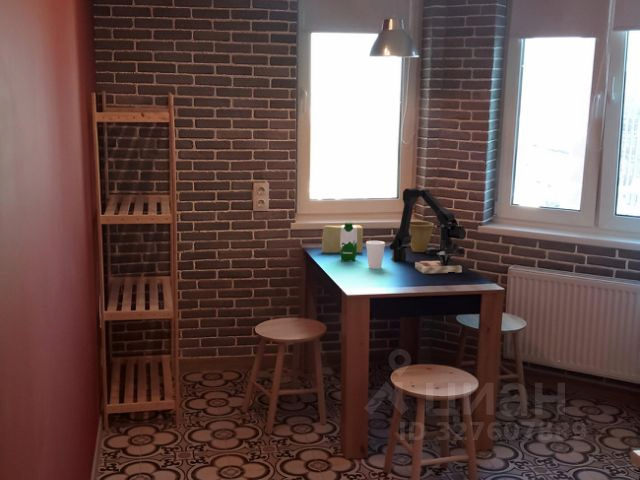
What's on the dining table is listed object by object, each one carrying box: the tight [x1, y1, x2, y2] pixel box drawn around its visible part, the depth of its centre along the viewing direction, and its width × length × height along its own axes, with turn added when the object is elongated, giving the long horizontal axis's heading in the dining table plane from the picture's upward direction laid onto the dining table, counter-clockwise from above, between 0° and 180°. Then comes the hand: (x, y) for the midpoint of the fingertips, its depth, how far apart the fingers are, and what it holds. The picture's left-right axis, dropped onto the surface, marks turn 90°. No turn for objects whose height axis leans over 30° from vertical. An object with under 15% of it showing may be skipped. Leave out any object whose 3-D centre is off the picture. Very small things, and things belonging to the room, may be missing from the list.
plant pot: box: [409, 220, 434, 253], centre depth 437 cm, size 15×15×16 cm
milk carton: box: [340, 222, 357, 262], centre depth 411 cm, size 9×9×20 cm
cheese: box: [321, 224, 364, 254], centre depth 432 cm, size 22×10×15 cm, turn 99°
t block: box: [419, 260, 442, 267], centre depth 390 cm, size 10×10×4 cm
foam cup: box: [365, 240, 386, 270], centre depth 393 cm, size 10×9×13 cm
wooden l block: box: [414, 261, 463, 275], centre depth 390 cm, size 20×13×3 cm, turn 101°
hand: (444, 267), depth 390 cm, fingers closed
